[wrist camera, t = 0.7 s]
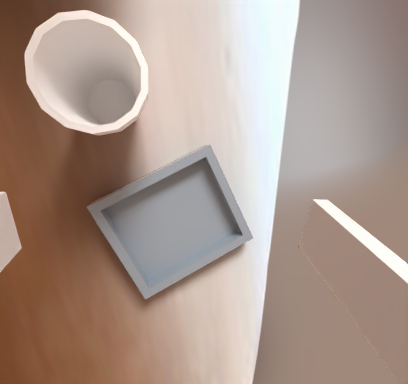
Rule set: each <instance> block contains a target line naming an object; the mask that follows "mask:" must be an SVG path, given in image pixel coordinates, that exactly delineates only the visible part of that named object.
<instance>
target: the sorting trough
mask: <svg viewBox="0 0 408 384" xmlns="http://www.w3.org/2000/svg"><path fill="white" fill-rule="evenodd" d="M87 209H88V211H89V212H90V214H91V215H92V217H93V218H94V220H95V222H96V223H97V225H98V226H99V228H100V229H101V231H102V232H103V234H104V236H105V237H106V239H107V240H108V242H109V243H110V245H111V247H112V248H113V250H114V251H115V253H116V254H117V256H118V257H119V259H120V261H121V262H122V264H123V265H124V267H125V268H126V270H127V272H128V273H129V275H130V276H131V278H132V279H133V281H134V283H135V284H136V286H137V287H138V289H139V290H140V292H141V293H142V295H143V297H144V298H145V300H146V299H148V298H149V297H151V296H153V295H155V294H156V293H158V292H160V291H162V290H163V289H165V288H167V287H169V286H170V285H172V284H174V283H176V282H177V281H179V280H181V279H183V278H184V277H186V276H188V275H189V274H191V273H193V272H195V271H196V270H198V269H200V268H202V267H203V266H205V265H207V264H209V263H210V262H212V261H214V260H216V259H217V258H219V257H221V256H223V255H224V254H226V253H228V252H230V251H231V250H233V249H235V248H237V247H238V246H240V245H242V244H244V243H245V242H247V241H249V240H251V239H252V238H253V236H252V234H251V232H250V230H249V228H248V226H247V223H246V221H245V219H244V217H243V215H242V213H241V210H240V208H239V206H238V204H237V202H236V200H235V197H234V195H233V193H232V191H231V189H230V187H229V184H228V182H227V180H226V178H225V176H224V174H223V171H222V169H221V167H220V165H219V163H218V161H217V158H216V156H215V154H214V152H213V150H212V148H211V145H205V146H203V147H201V148H199V149H197V150H195V151H193V152H191V153H189V154H187V155H185V156H183V157H181V158H179V159H177V160H175V161H173V162H171V163H169V164H167V165H165V166H163V167H161V168H159V169H157V170H155V171H153V172H151V173H149V174H147V175H145V176H143V177H141V178H139V179H137V180H135V181H133V182H131V183H129V184H127V185H126V186H124V187H122V188H120V189H118V190H116V191H114V192H112V193H110V194H108V195H106V196H104V197H102V198H100V199H98V200H96V201H94V202H92V203H91V204H90V205H88V206H87Z"/></svg>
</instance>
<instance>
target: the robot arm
mask: <svg viewBox="0 0 408 384" xmlns="http://www.w3.org/2000/svg"><path fill="white" fill-rule="evenodd" d="M298 247H299V249H300V250H301V251H302V252H303V254H304V255H305V257H306V258H307V259H308V261H309V262H310V264H311V265H312V266H313V268H314V269H315V270H316V272H317V273H318V274H319V276H320V277H321V278H322V280H323V281H324V283H325V284H326V285H327V287H328V288H329V289H330V291H331V292H332V293H333V295H334V296H335V298H336V299H337V300H338V302H339V303H340V304H341V305H342V307H343V308H344V310H345V311H346V312H347V314H348V315H349V316H350V318H351V319H352V321H353V322H354V323H355V325H356V326H357V327H358V329H359V330H360V331H361V333H362V334H363V336H364V337H365V338H366V340H367V341H368V342H369V344H370V345H371V346H372V348H373V349H374V351H375V352H376V353H377V355H378V356H379V357H380V359H381V360H382V361H383V363H384V364H385V366H386V367H387V368H388V370H389V371H390V372H391V374H392V375H393V376H394V378H395V379H396V380H397V382H398V383H399V384H408V263H407V262H405V261H403V260H402V259H401V258H400V257H398V256H397V255H396V254H395V253H393V252H392V251H391V250H390V249H388V248H387V247H386V246H385V245H383V244H382V243H381V242H379V241H378V240H377V239H376V238H375V237H373V236H372V235H371V234H370V233H368V232H367V231H366V230H365V229H363V228H362V227H361V226H360V225H358V224H357V223H356V222H355V221H353V220H352V219H350V217H348V216H347V215H346V214H345V213H343V212H342V211H341V210H339V209H338V208H337V207H336V206H335V205H333V204H332V203H331V202H329V201H328V200H312V204H311V206H310V210H309V213H308V216H307V220H306V223H305V226H304V229H303V233H302V236H301V239H300V242H299V246H298ZM21 248H22V247H21V243H20V240H19V236H18V233H17V229H16V226H15V222H14V219H13V215H12V212H11V208H10V205H9V201H8V198H7V194H6V192H0V272H1V271H2V270H3V269H4V268H5V266H6V265H7V264H8V263H9V262H10V261H11V260H12V259H13V257H14V256H15V255H16V254H17V253H18V252H19V251H20V249H21Z"/></svg>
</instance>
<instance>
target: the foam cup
mask: <svg viewBox="0 0 408 384" xmlns="http://www.w3.org/2000/svg"><path fill="white" fill-rule="evenodd" d="M24 57H25V69H26V81H27V84H28V86H29V88H30V90H31V91H32V93H33V95H34V97H35V98H36V100H37V102H38V103H39V105H40V107H41V109H42V110H44V111H45V112H46V113H48V114H49V115H50V116H52V117H53V118H54V119H56V120H57V121H58V122H60V123H61V124H62V125H63V126H65V127H67V128H71V129H74V130H78V131H82V132H86V133H90V134H94V135H98V136H99V135H105V134H110V133H116V132H121V131H122V130H124V129H125V128H126V127H128V126H129V125H130V124H132V123H133V122H134V121H136V120H137V119H138V118H139V117H140V114H141V112H142V110H143V108H144V106H145V104H146V102H147V100H148V66H147V63H146V61H145V59H144V57H143V54H142V52H141V50H140V48H139V46H138V43H137V41H136V40H135V39H134V38H133V37H132V36H131V35H130V34H129V33H128V32H127V31H125V30H124V29H123V28H122V27H121V26H120V25H119V24H118V23H117V22H116V21H115V20H112V19H110V18H107V17H104V16H102V15H99V14H96V13H94V12H91V11H88V10H82V11H71V12H60V13H57V14H56V15H54V16H53V17H51V18H50V19H48V20H47V21H46V22H44V23H43V24H41V25H40V26H38V27H37V28H36V29H35V31H34V33H33V35H32V38H31V40H30V42H29V44H28V46H27V49H26V51H25V53H24Z"/></svg>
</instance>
